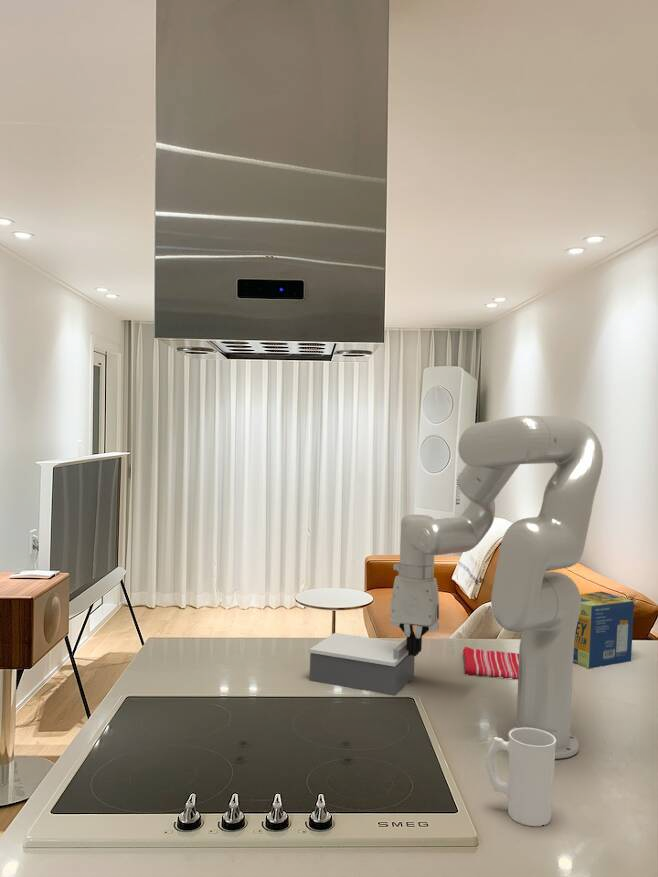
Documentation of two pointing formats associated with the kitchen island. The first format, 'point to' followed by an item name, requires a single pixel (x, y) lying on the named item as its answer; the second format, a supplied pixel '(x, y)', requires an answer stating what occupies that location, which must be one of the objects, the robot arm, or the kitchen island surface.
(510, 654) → the dish towel
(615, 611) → the protein box
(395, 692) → the housing
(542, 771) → the mug
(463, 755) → the kitchen island surface
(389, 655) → the lid
